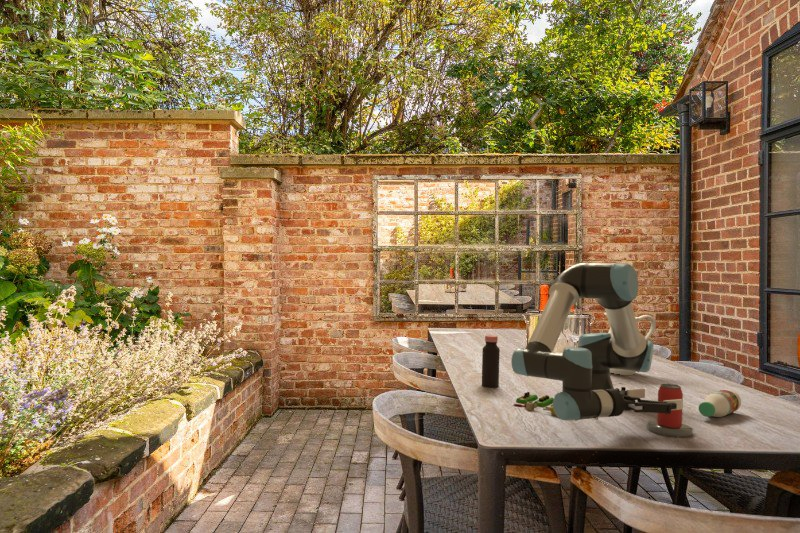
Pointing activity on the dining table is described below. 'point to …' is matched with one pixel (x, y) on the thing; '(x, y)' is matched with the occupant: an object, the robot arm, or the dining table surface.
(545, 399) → the toy garden set
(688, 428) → the pad
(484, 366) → the vinegar
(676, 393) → the beer can
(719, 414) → the milk bottle
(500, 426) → the dining table surface
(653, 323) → the pitcher
